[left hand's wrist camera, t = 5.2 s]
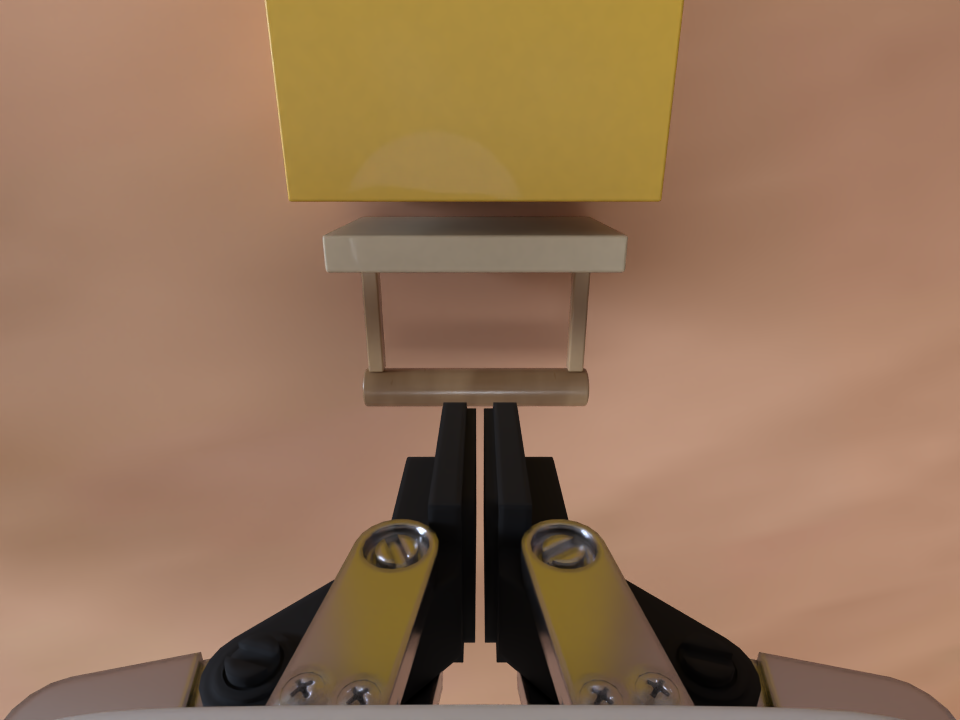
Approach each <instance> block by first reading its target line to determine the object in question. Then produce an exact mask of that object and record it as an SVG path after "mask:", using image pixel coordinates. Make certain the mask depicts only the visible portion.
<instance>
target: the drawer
mask: <svg viewBox="0 0 960 720" xmlns="http://www.w3.org/2000/svg"><path fill="white" fill-rule="evenodd" d="M627 242H628V237H627V236H626V235H624V234H622V233H620V232H618V231H616V230H614V229H612V228H611V227H609V226H607V225H605V224H603V223H601V222H599V221H597V220H595V219H593V218H591V217H361V218H359V219H357V220H355V221H353V222H351V223H349V224H347V225H345V226H343V227H341V228H339V229H337V230H335V231H332V232H330V233H328V234H326V235H324V236H323V247H324V257H325V267H326V271H327V272H329V273H361V276H362V289H363V302H364V315H365V328H366V341H367V354H368V367H369V368H368V369H366V371H365V373H364V378H363V398H364V402H365V405H366V406H443V403H444V402H467V406H493V402H516V403H517V406H586V405H587V402H588V398H589V378H588V373H587V371H586V369H584V368H583V365H584V351H585V337H586V323H587V310H588V296H589V282H590V272H624V270H625V263H626V253H627ZM532 272H572V279H571V296H570V312H569V329H568V345H567V362H566V366H567V368H385V367H386V362H385V347H384V332H383V316H382V301H381V286H380V273H532Z"/></svg>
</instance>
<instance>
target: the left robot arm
mask: <svg viewBox="0 0 960 720" xmlns="http://www.w3.org/2000/svg"><path fill="white" fill-rule="evenodd" d="M475 594H476V408H467V402H444V403H443V408H442V415H441V421H440V428H439V435H438V441H437V448H436V454H435V457H408V458H407V460H406V464H405V468H404V472H403V476H402V480H401V484H400V488H399V492H398V496H397V500H396V504H395V508H394V513H393V517H392V520H390V521H385V522H382V523H379V524H377V525H374V526H372V527H370V528H369V529H368V530H366V531H365V532H363V533H362V534H361V536H360V537H359V538H358V539H357V541H356V542H355V544H354V546H353V547H352V549H351V551H350V553H349V555H348V556H347V558H346V560H345V562H344V564H343V566H342V567H341V569H340V571H339V573H338V575H337V576H336V578H335V580H333V581H331V582H330V583H328V584H326V585H324V586H323V587H321V588H319V589H318V590H316V591H314V592H312V593H311V594H309V595H307V596H306V597H304V598H302V599H300V600H299V601H297V602H295V603H294V604H292V605H290V606H288V607H287V608H285V609H283V610H282V611H280V612H278V613H276V614H275V615H273V616H271V617H270V618H268V619H266V620H264V621H263V622H261V623H259V624H258V625H256V626H254V627H252V628H251V629H249V630H247V631H246V632H244V633H242V634H240V635H239V636H237V637H235V638H234V639H232V640H231V641H230V642H228V643H227V644H225V645H224V646H223V647H221V648H220V649H219V650H218V651H217V652H216V653H215V654H214V656H213V657H212V658H211V659H207V660H203V658H202V654H201V652H199V653H193V654H188V655H183V656H178V657H173V658H167V659H162V660H157V661H152V662H146V663H141V664H136V665H131V666H125V667H120V668H115V669H110V670H105V671H99V672H94V673H89V674H84V675H78V676H73V677H69V678H66V679H63V680H60V681H56V682H53V683H50V684H49V685H47V686H45V687H43V688H41V689H40V690H38V691H36V692H34V693H32V694H31V695H29V696H28V697H27V698H26V699H24V700H23V701H22V702H21V703H19V704H18V705H17V706H16V707H15V708H13V709H12V710H11V712H10V713H9V714H8V715H7V717H6V718H5V719H4V720H956V719H955V718H954V717H953V715H952V714H951V713H950V712H949V710H948V709H947V708H945V707H944V706H943V705H942V704H941V703H939V702H938V701H937V700H936V699H934V698H933V697H932V696H931V695H929V694H928V693H926V692H924V691H922V690H920V689H919V688H917V687H915V686H913V685H911V684H909V683H907V682H904V681H900V680H897V679H894V678H891V677H887V676H882V675H876V674H871V673H866V672H861V671H855V670H850V669H845V668H840V667H835V666H829V665H824V664H819V663H814V662H808V661H803V660H798V659H793V658H787V657H782V656H777V655H772V654H767V653H761V652H759V654H758V658H757V660H753V659H749V658H748V657H747V656H746V654H745V653H744V652H743V651H742V650H741V649H740V648H739V647H737V646H736V645H735V644H733V643H732V642H730V641H729V640H728V639H726V638H725V637H723V636H721V635H720V634H718V633H716V632H714V631H713V630H711V629H709V628H708V627H706V626H704V625H702V624H701V623H699V622H697V621H696V620H694V619H692V618H690V617H689V616H687V615H685V614H684V613H682V612H680V611H678V610H677V609H675V608H673V607H672V606H670V605H668V604H666V603H665V602H663V601H661V600H660V599H658V598H656V597H654V596H653V595H651V594H649V593H648V592H646V591H644V590H642V589H641V588H639V587H637V586H636V585H634V584H632V583H630V582H629V581H627V580H625V578H624V576H623V575H622V573H621V571H620V569H619V567H618V566H617V564H616V562H615V560H614V558H613V557H612V555H611V553H610V551H609V549H608V547H607V546H606V544H605V542H604V541H603V539H602V538H601V537H600V536H599V534H598V533H597V532H595V531H594V530H592V529H591V528H590V527H588V526H586V525H583V524H581V523H578V522H575V521H570V520H568V517H567V513H566V508H565V504H564V500H563V496H562V492H561V488H560V484H559V480H558V476H557V472H556V468H555V464H554V460H553V458H552V457H525V454H524V448H523V441H522V435H521V428H520V421H519V415H518V408H517V403H516V402H493V408H484V594H485V643H496V654H497V662H507V663H508V664H509V665H511V666H512V667H513V668H514V669H515V670H517V686H518V693H519V697H520V701H521V705H439V701H440V697H441V693H442V686H443V670H445V669H446V668H447V667H448V666H449V665H451V664H452V663H453V662H463V654H464V643H475Z"/></svg>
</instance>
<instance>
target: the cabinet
mask: <svg viewBox="0 0 960 720" xmlns="http://www.w3.org/2000/svg"><path fill="white" fill-rule="evenodd" d="M683 4H684V0H265V7H266V16H267V24H268V32H269V41H270V49H271V57H272V66H273V74H274V82H275V91H276V99H277V108H278V116H279V124H280V133H281V141H282V149H283V158H284V166H285V174H286V183H287V191H288V199H289V201H291V202H659V201H661V198H662V189H663V180H664V172H665V163H666V154H667V145H668V136H669V128H670V119H671V110H672V101H673V92H674V84H675V75H676V66H677V57H678V48H679V40H680V31H681V22H682V13H683Z"/></svg>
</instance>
